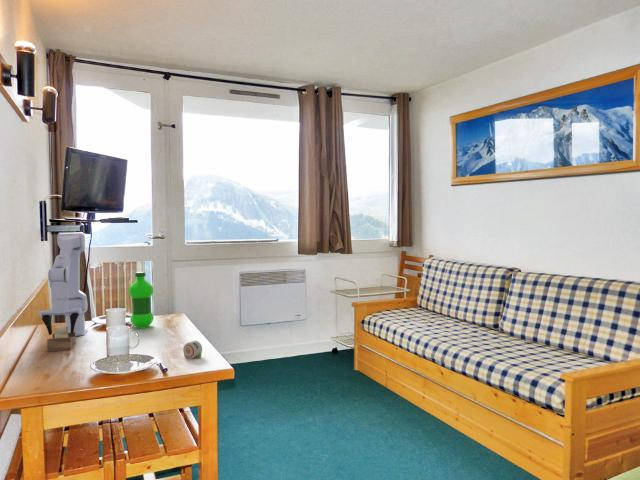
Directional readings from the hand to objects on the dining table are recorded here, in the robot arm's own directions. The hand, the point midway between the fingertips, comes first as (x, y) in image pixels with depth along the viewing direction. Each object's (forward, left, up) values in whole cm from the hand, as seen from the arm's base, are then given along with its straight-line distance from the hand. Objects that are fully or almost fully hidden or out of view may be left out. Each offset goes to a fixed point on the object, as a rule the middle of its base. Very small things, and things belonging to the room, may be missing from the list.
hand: (61, 333), depth 191 cm
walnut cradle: (0, 0, -5) cm, 5 cm away
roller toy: (+33, +48, -6) cm, 59 cm away
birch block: (0, 0, -2) cm, 2 cm away
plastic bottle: (-27, +28, -6) cm, 39 cm away
